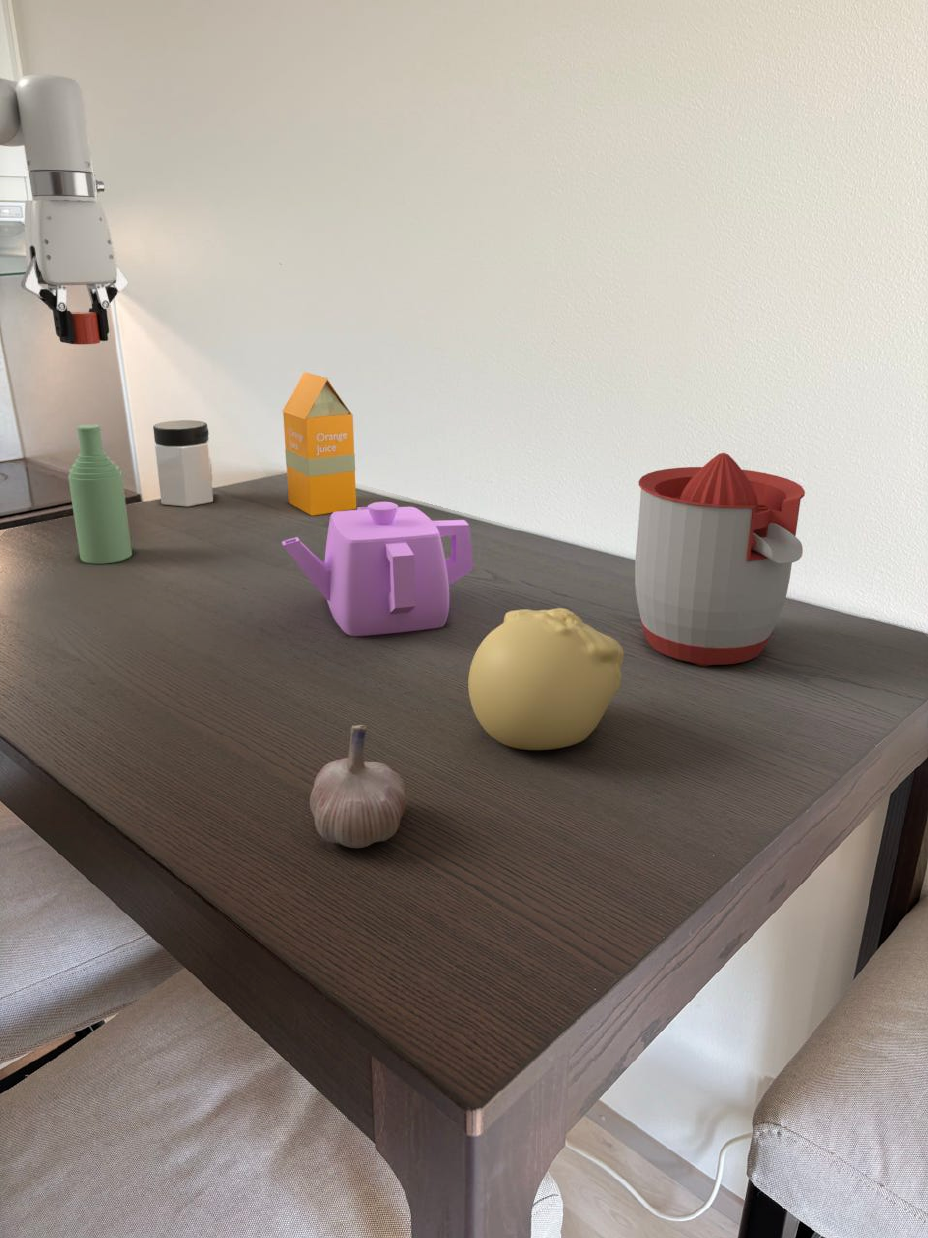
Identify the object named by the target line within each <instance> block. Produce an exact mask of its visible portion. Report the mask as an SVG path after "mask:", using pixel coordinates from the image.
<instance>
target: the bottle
mask: <svg viewBox="0 0 928 1238" xmlns="http://www.w3.org/2000/svg"><path fill="white" fill-rule="evenodd" d="M76 430H77V435H78V441H79V449H80V453H79V454H77V456H78V458H76V459H74V460H75V461H74V463H73V464H72V465H71V468H70V469H69V470H68V475H67V479H68V485H69V491H70V493H69V494H70V498H71V499H70V500H71V505H72V512H73V519H74V526H75V531H76V539H77V545H78V551H79V556H80V557H79V559H80V561H81V562H84V563H87V564H95V565H97V564H98V565H99V564H100V565H101V564H102V565H103V564H104V565H105V564H113V563H118V562H122V561H124V560H125V561H126V560H127V559H129V558H131V556H132V555H133V549H132V542H131V535H130V534H131V533H130V527H129V520H128V519H129V518H128V512H127V511H128V510H127V503H126V496H125V495H126V494H125V488H124V481H123V480H124V479H123V473H122V471H121V470H120V466H119V465H117V464H116V462H115V461H114V460H112V459H111V457H110V456H107V453H106V451H104V448H103V441H102V436H101V435H102V433H101V430H102V429H101V427H100V425H99V424H95V423H94V424H93V423H92V424H91V423H90V424H80V425H78V426H77V427H76Z"/></svg>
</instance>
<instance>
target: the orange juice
mask: <svg viewBox="0 0 928 1238" xmlns="http://www.w3.org/2000/svg"><path fill="white" fill-rule="evenodd" d="M281 412H282V414H283V429H284V444H285V449H284V451H285V463H286V464H285V466H286V475H287V476H286V477H287V490H288V491H287V493H288V503H289V504H290V505H292V506H293V507H295V508H297V509H299V510H300V511H302V512H305V513H306V514H308V515H310V516H318V515H324V514H325V515H326V514H332V513H333V512H339V511H350V510H357V491H356V459H355V456H356V455H355V440H354V415H353V413H352V412H351V411H350V410H349V408H348V407H347V405H346V404H345V402H344V401H343V400H342V398H341V397H340V395H339V394H338V393H337V391H336V390H335V388H334V387H333V386H332V384H331V382H330V381H329V378H328V377H324V376H320V375H316V374H313V373H309V372H307V371H306V372H305V371H303V372H302V374H301V376H300V378H299V380H298V382H297V384H296V385H295V387H294V389H293V391H292V393H291V395H290V396H289V398H288V400H287V402H286V403H285V405H284V407H283V409H282V411H281Z"/></svg>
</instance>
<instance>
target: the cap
mask: <svg viewBox="0 0 928 1238" xmlns="http://www.w3.org/2000/svg"><path fill="white" fill-rule="evenodd" d="M70 312H71V313H72V319H73V326H74V334H75V342H74V343H68V344H69V345H96V344H100V343H101V341H100V338H99V330H98V322H97V314H96V312H89V311H70Z"/></svg>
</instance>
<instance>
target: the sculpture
mask: <svg viewBox="0 0 928 1238" xmlns="http://www.w3.org/2000/svg"><path fill="white" fill-rule="evenodd" d="M624 657H625V650H624V648H623V647H622V646H621V644H620V642H618V641H617V640H616V639H614V638H612V637H610V636H608V635H607V634H605V633H602V632H601V631H600V632H599V631H597V630H596V629H594V628H593V627H592V626H590V625H589V624H587V623H585V622H584V621H583V620H582V619H581V617H580V616H578V615H577V614H575V612H573V611H570V610H569V609H567V608H562V607H557V608H551V609H540V610H532V609H525V608H524V609H517V610H509V611H508V612H506V613H505V614H504V618H503V622H502V623H501V624H500V625H498V626H496V627H495V628H494V629H492V630H491V631H490V632H489V633H488V634H487V636H486V637H485V638H484V639H483V640H482V642H481V643H480V644H479V646H478V647H477V649H476V650H475V653H474V655H473V657H472V661H471V663H470V667H469V672H468V680H467V687H468V696H469V701H470V704H471V708H472V710H473V713H474V715H475V717H476V719H477V721H478V722H479V724H480V726H481V727H482V729H484V731H485V732H486V733H487V734H488V735H489V736H490V737H492V738H493V739H494V740H496V741H497V742H498V743H501V744H503V745H504V746H506V747H510V748H513V749H518V750H525V751H549V750H557V749H563V748H568V747H571V746H574V745H576V744H579V743H581V742H583V741H584V740H586V739H587V738H588V737H589V736H590V735H591V734H592V733H593V732H594V730H595V729H596V728H597V727H598V725H599V723H600V722H601V720H602V718H603V716H604V715H605V713H606V711H607V709H608V708H609V706H610V703H611V701H612V699H613V698H614V696H615V695H616V694H617V693H618V691H619V690H620V687H621V683H620V682H621V681H622V677H623V675H622V671H621V668H622V666H623V663H624Z"/></svg>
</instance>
